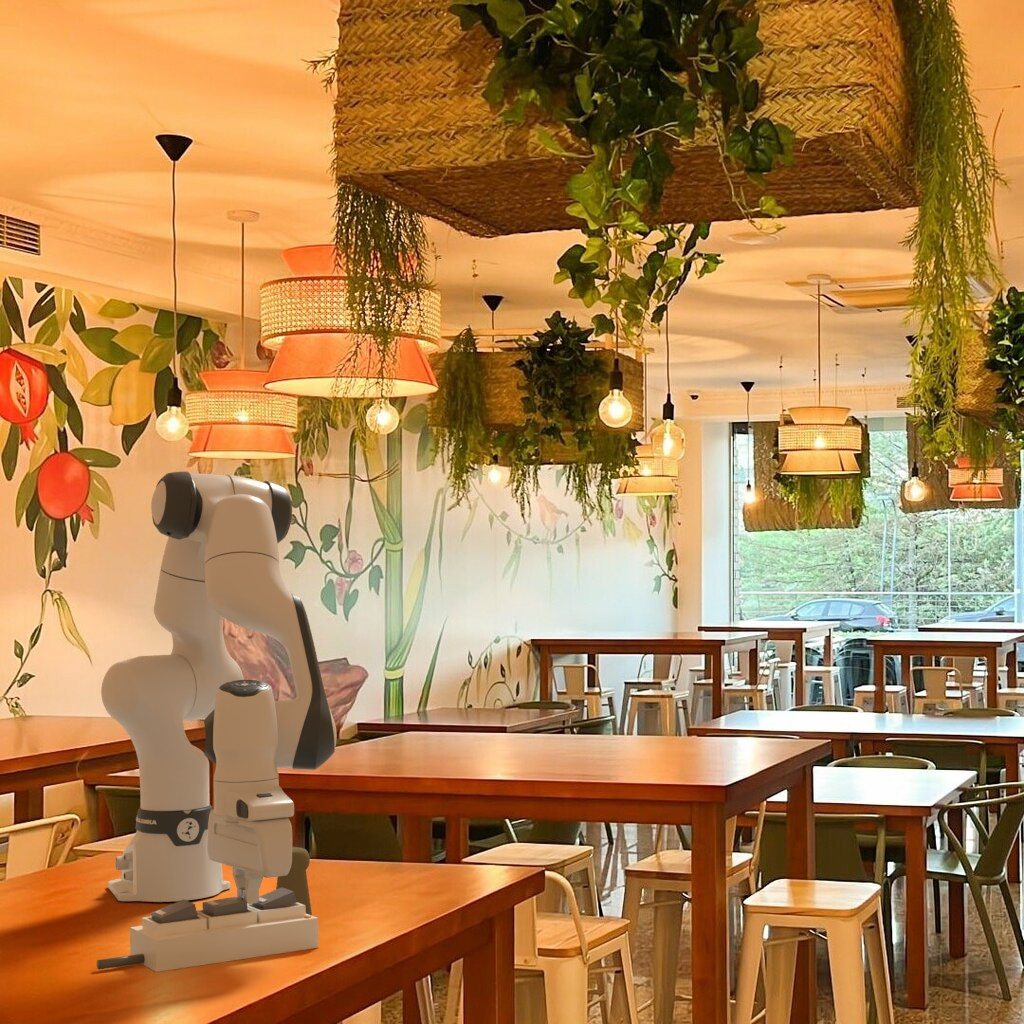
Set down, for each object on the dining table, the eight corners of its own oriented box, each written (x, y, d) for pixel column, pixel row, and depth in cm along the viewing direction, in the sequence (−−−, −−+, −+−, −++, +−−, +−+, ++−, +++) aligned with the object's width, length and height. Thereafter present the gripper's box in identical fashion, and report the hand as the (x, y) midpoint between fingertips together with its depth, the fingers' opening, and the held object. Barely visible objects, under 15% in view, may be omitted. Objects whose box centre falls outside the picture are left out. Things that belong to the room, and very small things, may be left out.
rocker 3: (254, 911, 214) (250, 899, 214) (284, 898, 216) (281, 886, 216) (265, 915, 210) (262, 903, 210) (296, 902, 213) (293, 890, 213)
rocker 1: (153, 924, 206) (150, 911, 206) (186, 910, 209) (183, 898, 208) (164, 929, 203) (160, 916, 203) (197, 915, 205) (194, 902, 205)
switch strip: (86, 963, 204) (85, 921, 204) (287, 934, 220) (287, 895, 220) (110, 978, 195) (110, 934, 196) (318, 947, 211) (318, 906, 212)
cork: (315, 918, 231) (314, 844, 231) (311, 927, 225) (310, 850, 225) (274, 919, 231) (273, 845, 231) (269, 928, 224) (268, 851, 225)
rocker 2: (202, 914, 210) (202, 901, 210) (236, 908, 212) (235, 895, 212) (214, 919, 206) (213, 905, 207) (247, 912, 209) (247, 899, 209)
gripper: (195, 795, 219) (196, 893, 218) (256, 809, 202) (258, 916, 201) (236, 791, 222) (238, 888, 221) (300, 804, 205) (302, 910, 204)
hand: (248, 902), depth 211 cm, fingers closed, pressing on rocker 2
